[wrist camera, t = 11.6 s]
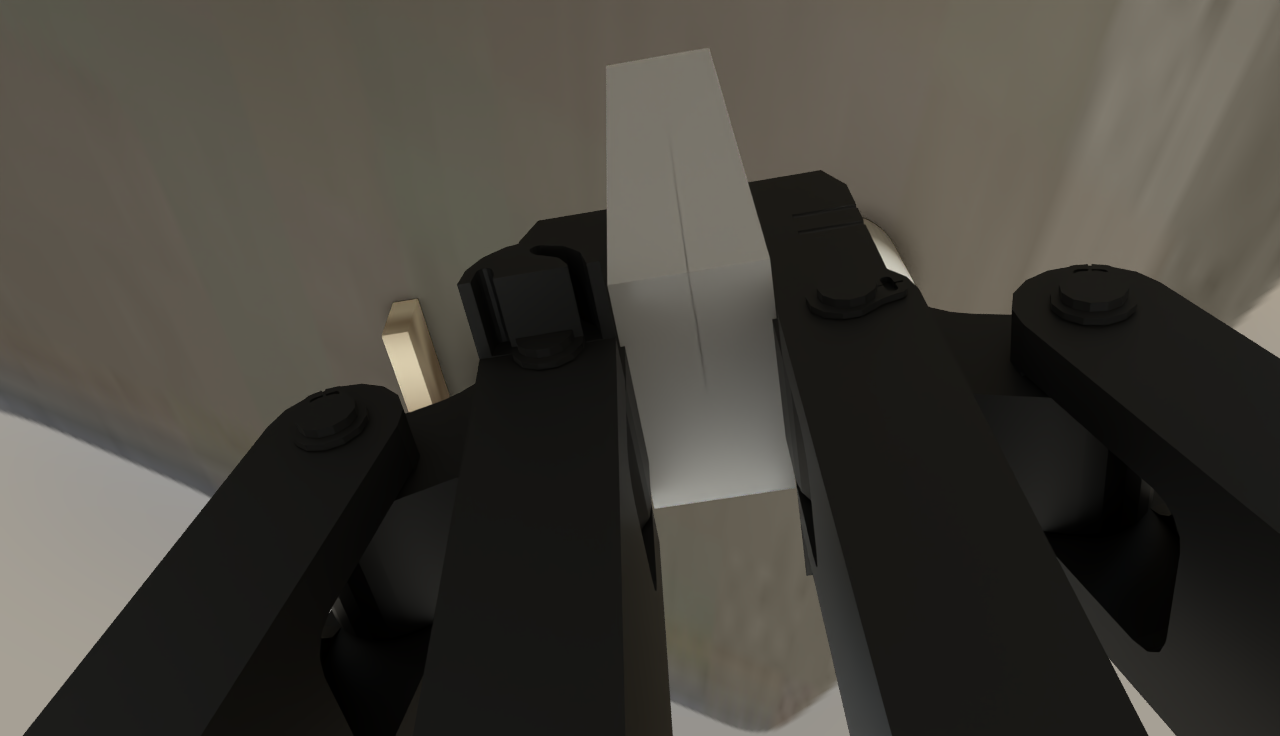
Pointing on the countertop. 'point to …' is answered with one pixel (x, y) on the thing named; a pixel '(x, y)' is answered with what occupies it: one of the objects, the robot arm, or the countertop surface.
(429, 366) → the maple pocket
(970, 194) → the countertop surface
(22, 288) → the countertop surface
